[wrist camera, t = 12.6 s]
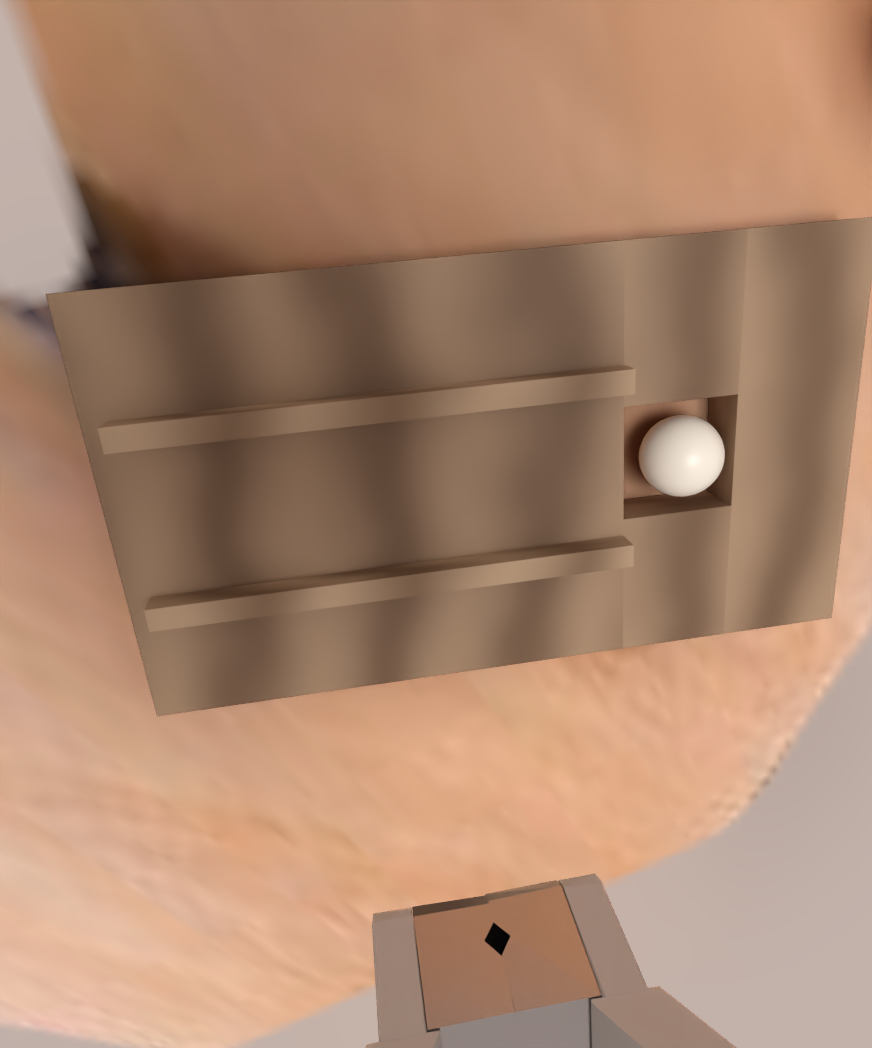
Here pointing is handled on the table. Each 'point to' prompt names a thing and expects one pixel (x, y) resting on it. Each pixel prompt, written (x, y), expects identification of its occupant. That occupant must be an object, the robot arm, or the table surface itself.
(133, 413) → the board
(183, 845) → the table surface
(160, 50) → the table surface
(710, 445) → the ball
